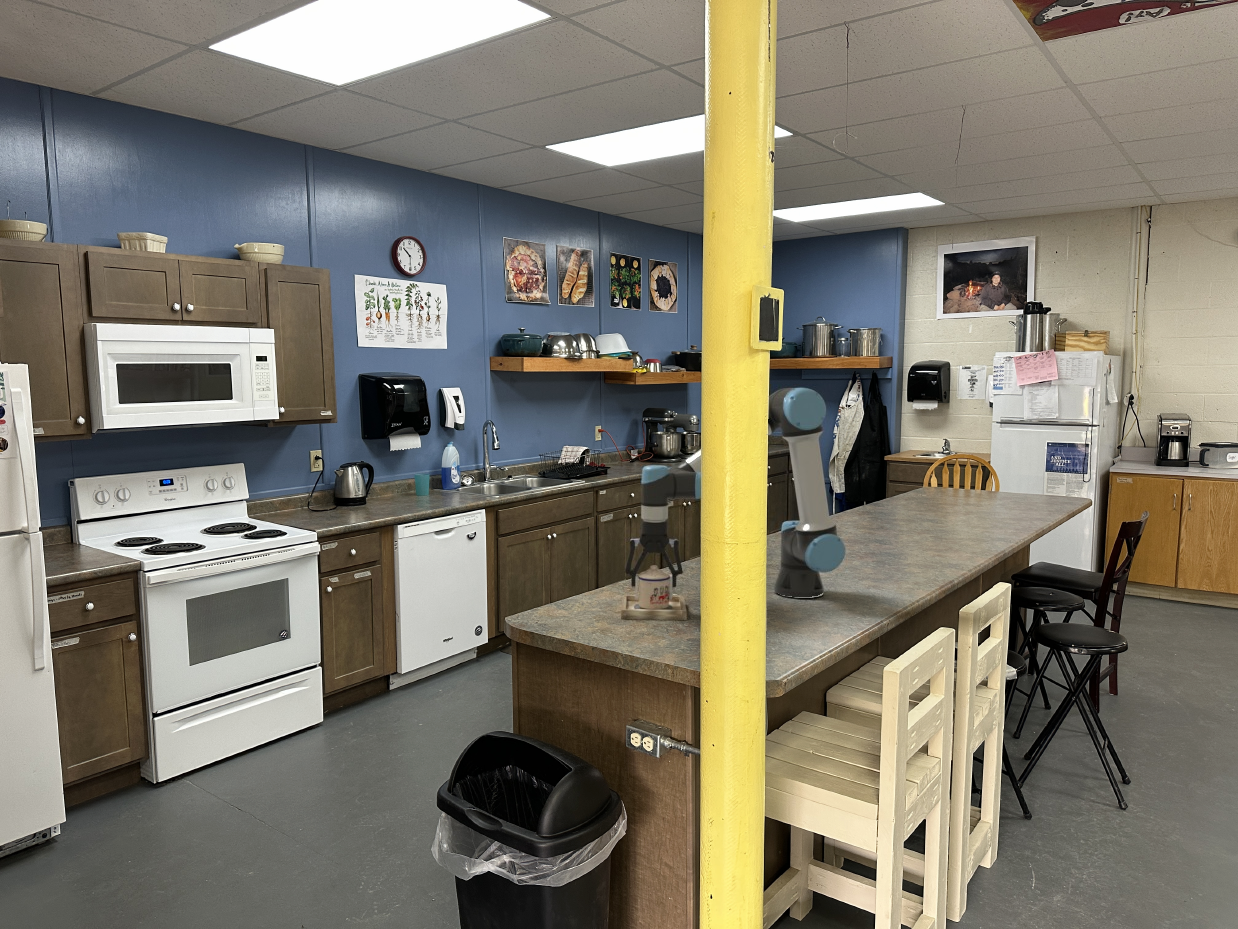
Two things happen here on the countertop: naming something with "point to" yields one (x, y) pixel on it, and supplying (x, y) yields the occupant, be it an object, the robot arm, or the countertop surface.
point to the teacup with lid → (654, 589)
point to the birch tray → (634, 611)
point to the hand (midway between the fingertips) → (653, 597)
